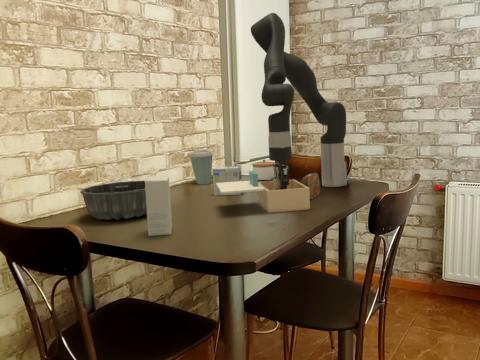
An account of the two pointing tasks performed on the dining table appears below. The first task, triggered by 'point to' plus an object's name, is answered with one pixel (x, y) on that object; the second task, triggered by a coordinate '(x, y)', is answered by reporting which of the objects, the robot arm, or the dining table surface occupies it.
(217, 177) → the light bulb box
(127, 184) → the bundt pan
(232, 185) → the lid
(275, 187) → the birch block
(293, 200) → the box
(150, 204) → the skincare box
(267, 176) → the lidded jar
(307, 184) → the brown flat slab
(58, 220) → the dining table surface
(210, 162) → the disposable coffee cup
